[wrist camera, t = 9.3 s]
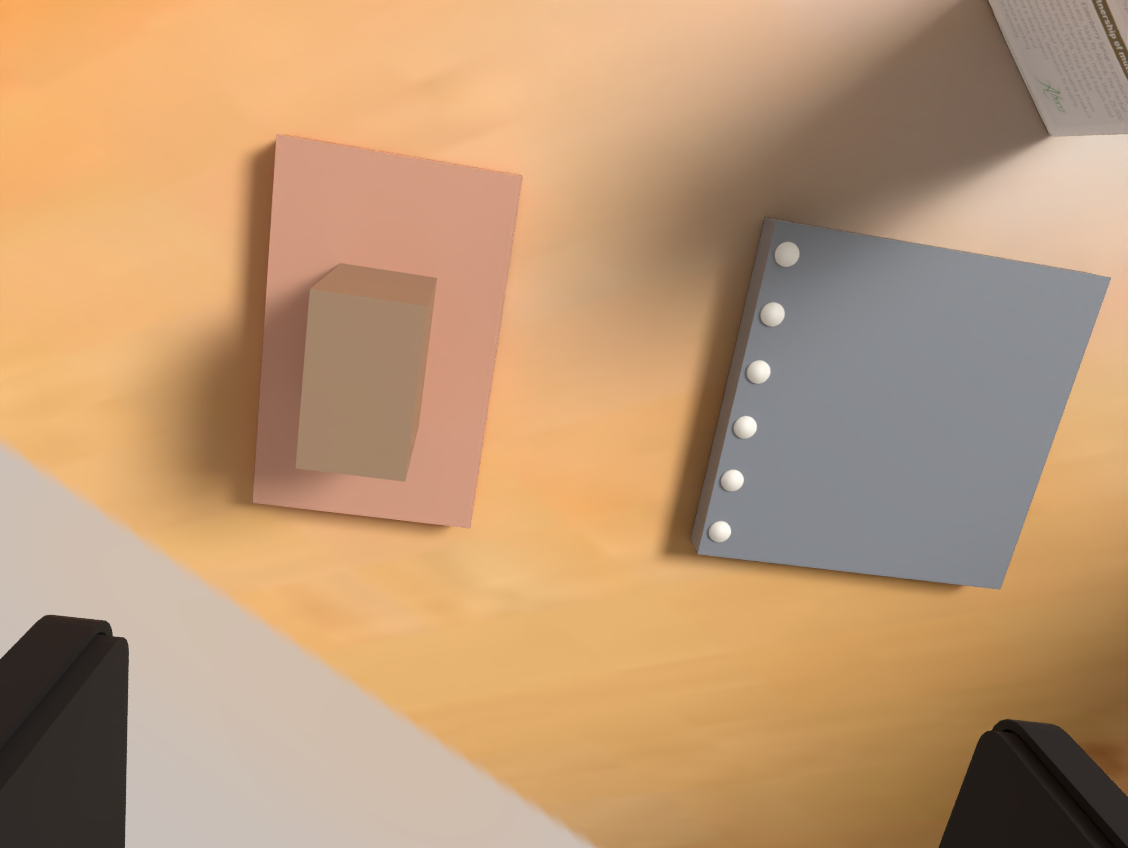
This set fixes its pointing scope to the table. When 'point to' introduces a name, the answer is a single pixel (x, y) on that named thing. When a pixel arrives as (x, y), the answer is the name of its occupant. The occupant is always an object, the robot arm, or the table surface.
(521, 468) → the table surface
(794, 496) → the grey dotted square slab
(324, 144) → the pink slab with block
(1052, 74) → the syrup box
